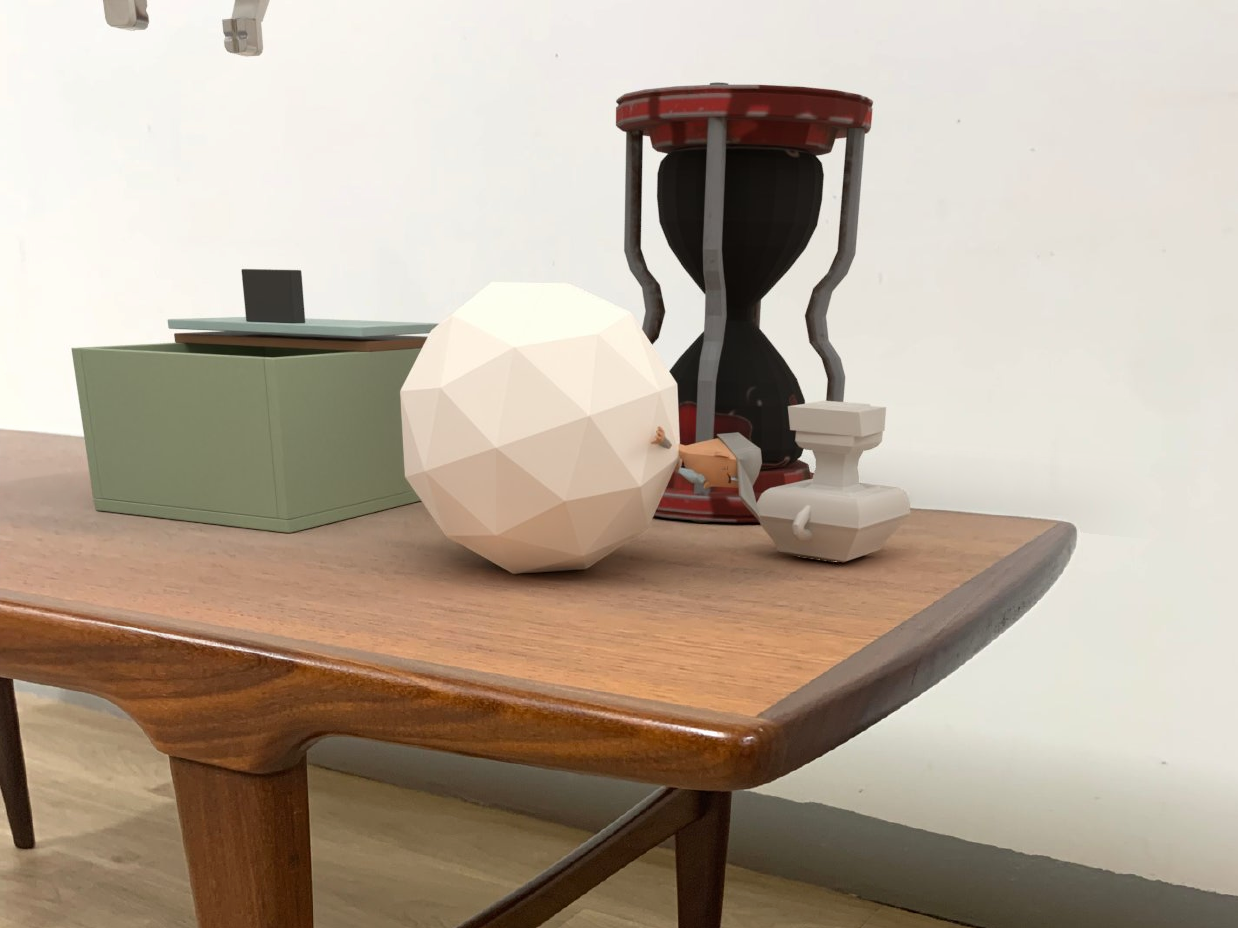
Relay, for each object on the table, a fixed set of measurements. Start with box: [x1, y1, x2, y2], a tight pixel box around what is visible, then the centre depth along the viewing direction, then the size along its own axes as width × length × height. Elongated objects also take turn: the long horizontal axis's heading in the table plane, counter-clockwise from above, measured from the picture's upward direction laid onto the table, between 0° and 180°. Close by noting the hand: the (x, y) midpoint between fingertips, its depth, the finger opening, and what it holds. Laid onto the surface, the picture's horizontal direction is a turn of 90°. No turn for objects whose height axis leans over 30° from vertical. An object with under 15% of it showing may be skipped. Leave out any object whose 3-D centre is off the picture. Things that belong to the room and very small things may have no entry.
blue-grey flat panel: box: [167, 268, 440, 337], centre depth 87 cm, size 16×9×4 cm, turn 65°
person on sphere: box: [400, 281, 762, 575], centre depth 68 cm, size 14×15×20 cm
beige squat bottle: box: [757, 400, 911, 563], centre depth 73 cm, size 9×7×8 cm
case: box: [71, 331, 428, 534], centre depth 87 cm, size 16×18×11 cm
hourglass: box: [615, 82, 874, 524], centre depth 86 cm, size 16×16×25 cm
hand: (189, 42), depth 75 cm, fingers open, 8 cm apart
